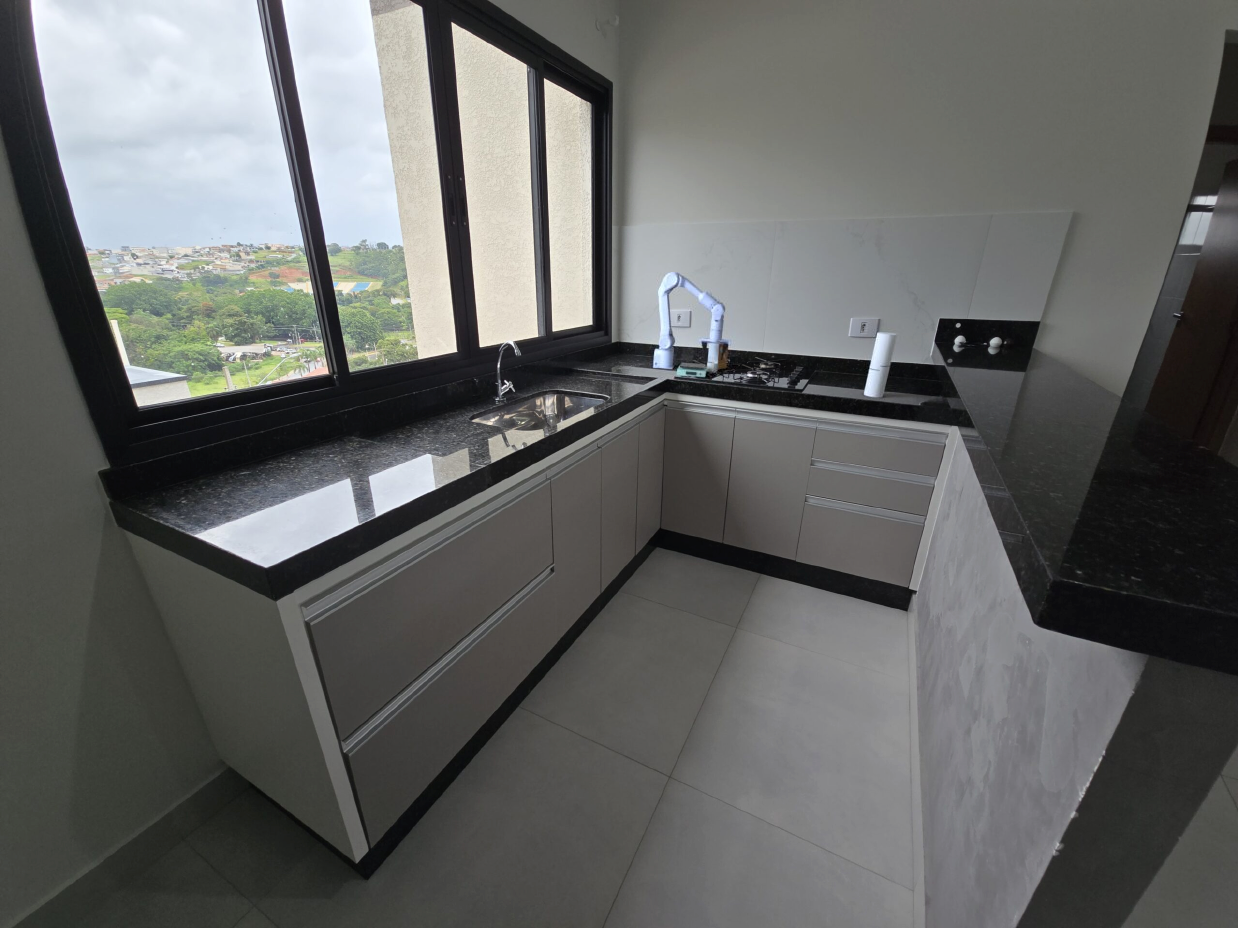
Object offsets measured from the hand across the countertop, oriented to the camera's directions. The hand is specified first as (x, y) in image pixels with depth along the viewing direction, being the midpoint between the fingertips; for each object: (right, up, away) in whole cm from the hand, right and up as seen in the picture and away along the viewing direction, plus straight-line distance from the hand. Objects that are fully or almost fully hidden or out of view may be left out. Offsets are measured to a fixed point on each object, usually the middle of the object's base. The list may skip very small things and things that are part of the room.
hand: (713, 359), depth 242 cm
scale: (-11, -8, -4) cm, 14 cm away
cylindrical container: (+60, -22, -33) cm, 72 cm away
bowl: (0, -6, +2) cm, 6 cm away
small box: (+4, -2, +12) cm, 13 cm away
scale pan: (-11, -5, -6) cm, 13 cm away
